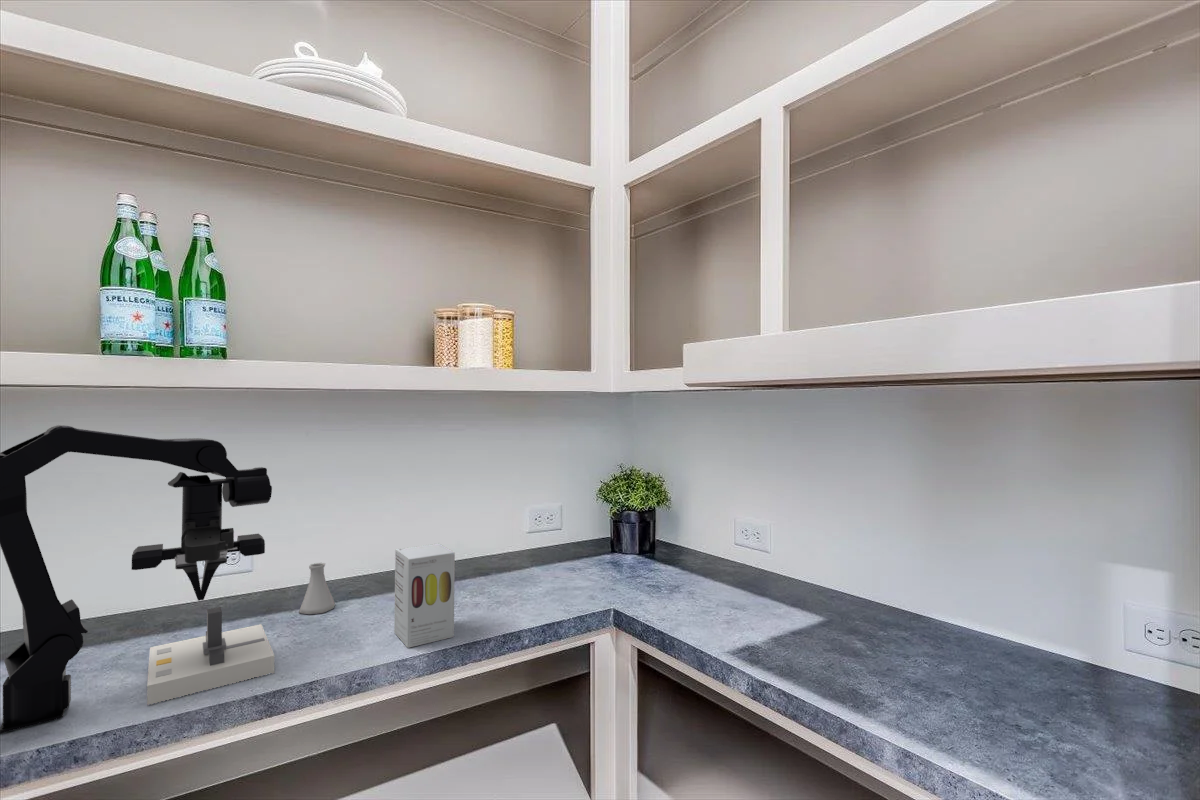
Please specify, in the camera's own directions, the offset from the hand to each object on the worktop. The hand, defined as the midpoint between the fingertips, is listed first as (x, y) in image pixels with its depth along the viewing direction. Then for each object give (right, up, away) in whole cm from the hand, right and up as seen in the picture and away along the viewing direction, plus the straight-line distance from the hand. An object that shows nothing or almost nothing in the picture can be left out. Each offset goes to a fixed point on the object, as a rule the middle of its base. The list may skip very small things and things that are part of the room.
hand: (200, 599), depth 99 cm
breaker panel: (+2, -12, -1) cm, 12 cm away
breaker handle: (+3, -9, 0) cm, 9 cm away
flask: (+7, -12, +27) cm, 30 cm away
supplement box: (+35, -12, +13) cm, 39 cm away
